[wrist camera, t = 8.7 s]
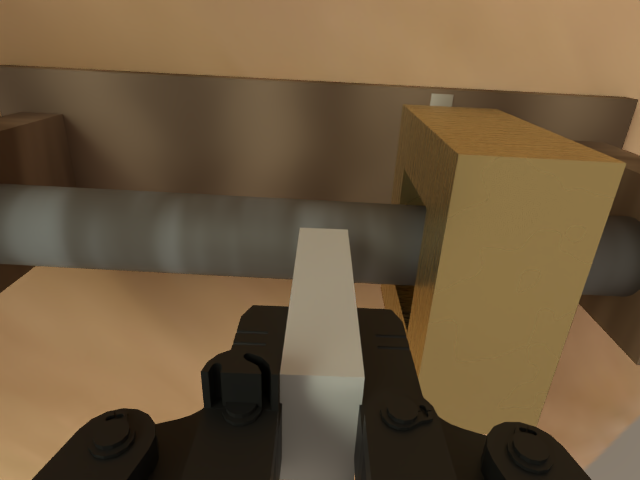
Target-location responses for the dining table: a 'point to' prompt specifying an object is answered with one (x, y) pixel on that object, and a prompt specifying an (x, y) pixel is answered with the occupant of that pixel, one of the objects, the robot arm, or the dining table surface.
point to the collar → (495, 256)
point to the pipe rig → (258, 176)
